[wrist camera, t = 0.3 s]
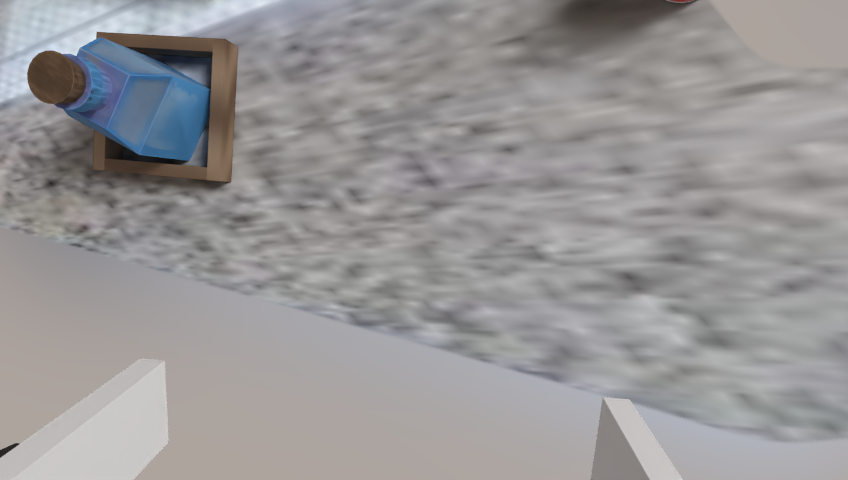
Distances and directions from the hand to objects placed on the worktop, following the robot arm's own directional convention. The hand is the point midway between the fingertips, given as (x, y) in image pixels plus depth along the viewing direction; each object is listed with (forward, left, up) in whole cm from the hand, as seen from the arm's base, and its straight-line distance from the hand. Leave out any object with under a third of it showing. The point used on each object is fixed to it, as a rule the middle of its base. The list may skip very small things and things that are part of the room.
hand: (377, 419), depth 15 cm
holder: (-12, -24, -26) cm, 37 cm away
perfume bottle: (-12, -24, -26) cm, 38 cm away
